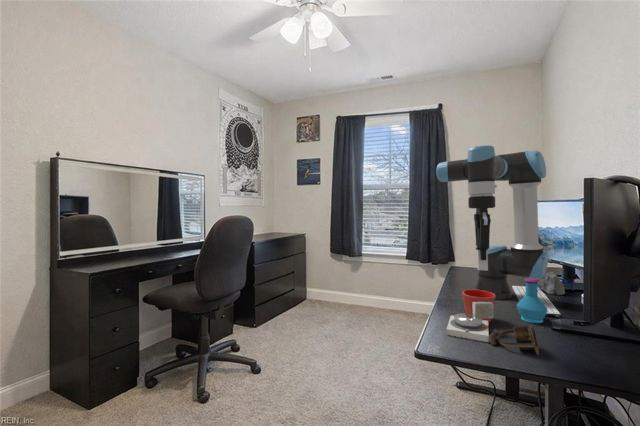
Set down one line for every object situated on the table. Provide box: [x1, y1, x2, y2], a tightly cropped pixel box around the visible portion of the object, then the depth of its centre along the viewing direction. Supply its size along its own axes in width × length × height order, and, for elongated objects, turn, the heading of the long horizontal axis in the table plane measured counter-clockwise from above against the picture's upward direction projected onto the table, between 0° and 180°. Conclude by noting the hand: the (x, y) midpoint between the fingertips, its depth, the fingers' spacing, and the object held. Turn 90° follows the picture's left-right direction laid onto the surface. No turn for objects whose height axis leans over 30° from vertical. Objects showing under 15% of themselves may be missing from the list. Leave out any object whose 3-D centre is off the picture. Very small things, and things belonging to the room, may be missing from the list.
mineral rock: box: [537, 271, 566, 296], centre depth 145 cm, size 13×11×10 cm
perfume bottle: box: [516, 277, 548, 324], centre depth 110 cm, size 9×9×15 cm
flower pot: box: [461, 289, 496, 323], centre depth 111 cm, size 11×11×10 cm
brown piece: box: [489, 325, 540, 356], centre depth 89 cm, size 7×13×10 cm
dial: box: [453, 302, 494, 328], centre depth 101 cm, size 12×8×7 cm
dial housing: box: [446, 315, 490, 343], centre depth 102 cm, size 14×12×2 cm
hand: (482, 269), depth 96 cm, fingers closed
